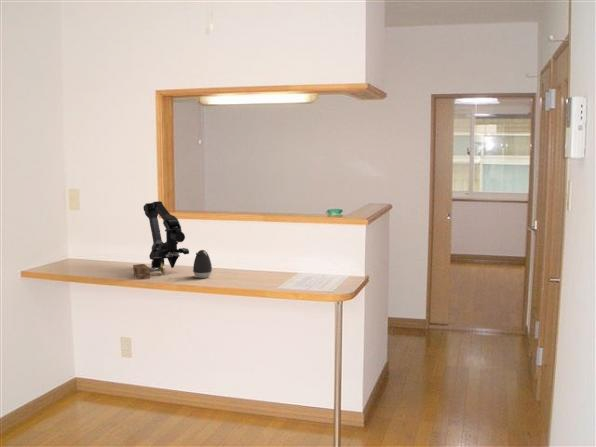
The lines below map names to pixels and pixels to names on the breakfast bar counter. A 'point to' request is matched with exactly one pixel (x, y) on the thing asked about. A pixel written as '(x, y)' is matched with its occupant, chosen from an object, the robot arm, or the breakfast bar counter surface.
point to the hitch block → (141, 271)
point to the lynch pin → (158, 268)
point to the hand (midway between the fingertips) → (172, 267)
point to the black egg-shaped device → (202, 265)
